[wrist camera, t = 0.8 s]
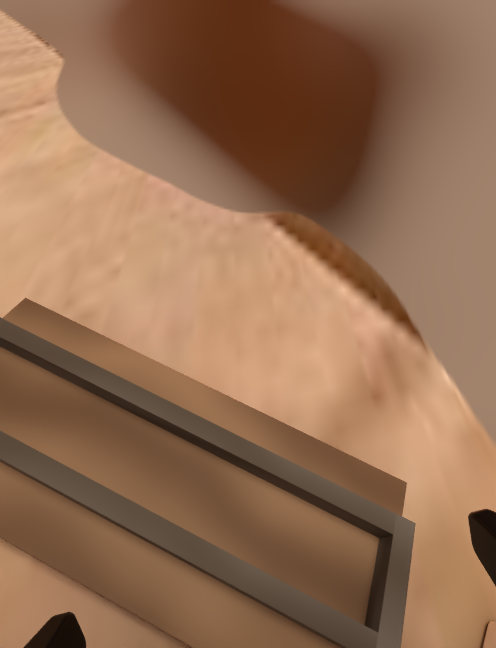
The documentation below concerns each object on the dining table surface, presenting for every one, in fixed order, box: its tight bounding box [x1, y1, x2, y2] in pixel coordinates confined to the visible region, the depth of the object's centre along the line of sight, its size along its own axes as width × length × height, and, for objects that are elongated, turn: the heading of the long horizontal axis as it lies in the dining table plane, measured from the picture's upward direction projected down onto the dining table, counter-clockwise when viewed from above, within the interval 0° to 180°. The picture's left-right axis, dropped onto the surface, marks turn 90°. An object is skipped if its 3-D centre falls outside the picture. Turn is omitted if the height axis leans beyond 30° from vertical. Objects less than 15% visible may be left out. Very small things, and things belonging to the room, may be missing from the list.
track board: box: [0, 298, 415, 648], centre depth 19 cm, size 11×26×3 cm, turn 67°
